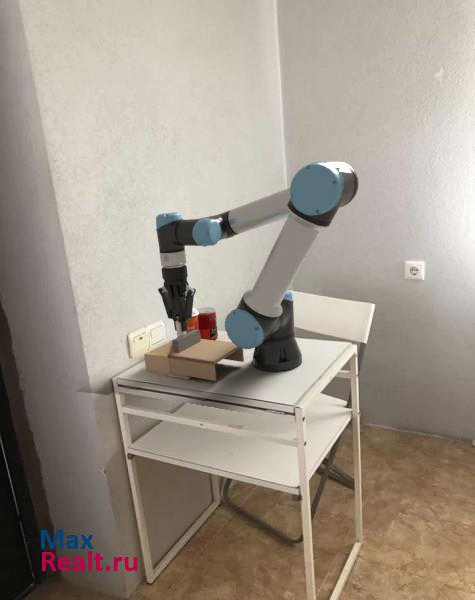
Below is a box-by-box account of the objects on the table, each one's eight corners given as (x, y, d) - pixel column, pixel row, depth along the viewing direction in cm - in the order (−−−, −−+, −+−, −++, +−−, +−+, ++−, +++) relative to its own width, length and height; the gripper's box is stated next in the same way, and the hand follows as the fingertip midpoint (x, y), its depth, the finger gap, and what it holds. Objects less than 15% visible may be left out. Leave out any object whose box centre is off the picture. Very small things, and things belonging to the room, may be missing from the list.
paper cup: (176, 352, 174) (171, 313, 171) (186, 345, 181) (182, 307, 178) (196, 354, 171) (192, 314, 168) (206, 346, 178) (202, 307, 175)
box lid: (243, 361, 157) (241, 331, 155) (215, 380, 144) (211, 348, 142) (200, 355, 166) (197, 327, 163) (169, 372, 153) (166, 342, 151)
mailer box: (214, 362, 162) (212, 344, 161) (187, 379, 151) (185, 359, 149) (174, 356, 171) (172, 339, 169) (146, 371, 159) (143, 353, 158)
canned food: (215, 342, 182) (212, 312, 179) (193, 342, 183) (190, 313, 181) (220, 335, 189) (217, 306, 186) (199, 335, 191) (196, 307, 188)
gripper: (148, 267, 152) (158, 342, 158) (183, 268, 145) (192, 347, 151) (165, 262, 158) (173, 335, 164) (198, 263, 152) (206, 339, 157)
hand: (182, 340), depth 158 cm, fingers closed
